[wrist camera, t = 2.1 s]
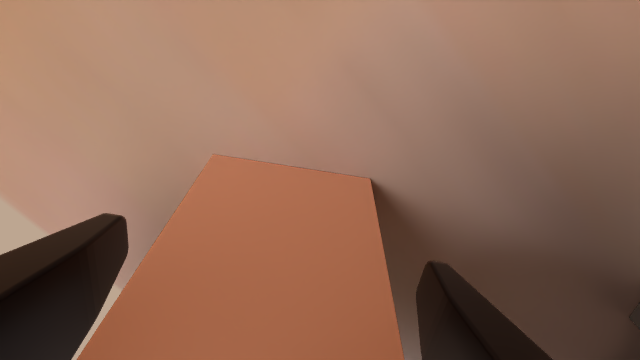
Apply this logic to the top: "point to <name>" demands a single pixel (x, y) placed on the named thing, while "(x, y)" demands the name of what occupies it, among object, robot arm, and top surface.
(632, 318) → the grey rectangular block
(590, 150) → the top surface
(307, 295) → the terracotta domino
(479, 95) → the top surface
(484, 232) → the top surface
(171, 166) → the top surface
